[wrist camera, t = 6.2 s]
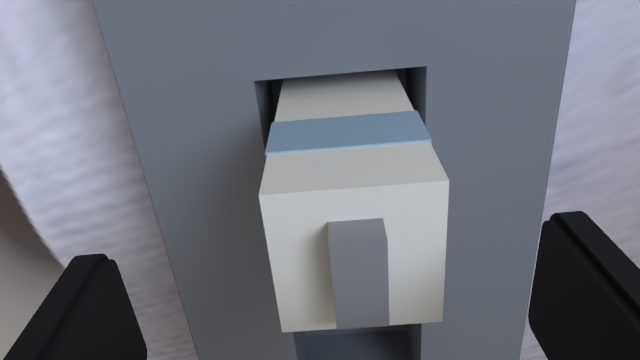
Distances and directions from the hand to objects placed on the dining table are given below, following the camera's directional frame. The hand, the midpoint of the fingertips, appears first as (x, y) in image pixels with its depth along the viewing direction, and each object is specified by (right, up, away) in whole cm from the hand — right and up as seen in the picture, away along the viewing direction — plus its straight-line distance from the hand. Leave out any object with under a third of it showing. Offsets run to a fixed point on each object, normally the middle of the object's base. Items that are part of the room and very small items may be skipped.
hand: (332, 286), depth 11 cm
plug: (+1, +5, +9) cm, 11 cm away
